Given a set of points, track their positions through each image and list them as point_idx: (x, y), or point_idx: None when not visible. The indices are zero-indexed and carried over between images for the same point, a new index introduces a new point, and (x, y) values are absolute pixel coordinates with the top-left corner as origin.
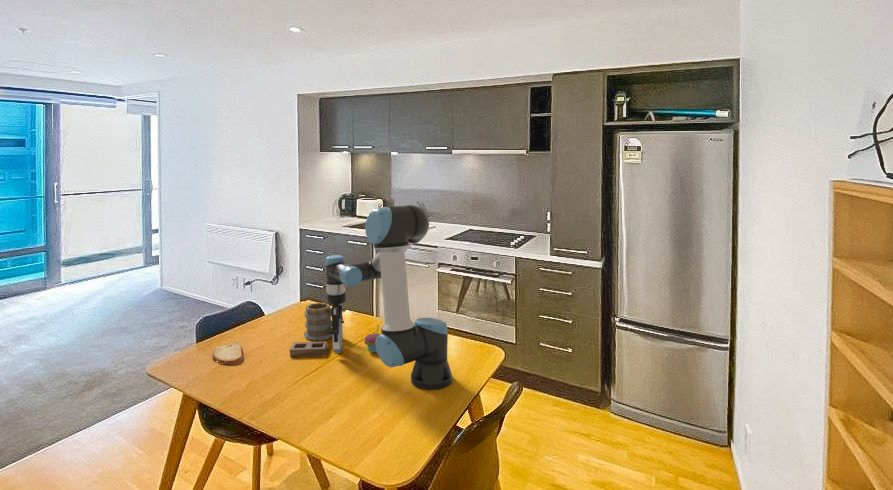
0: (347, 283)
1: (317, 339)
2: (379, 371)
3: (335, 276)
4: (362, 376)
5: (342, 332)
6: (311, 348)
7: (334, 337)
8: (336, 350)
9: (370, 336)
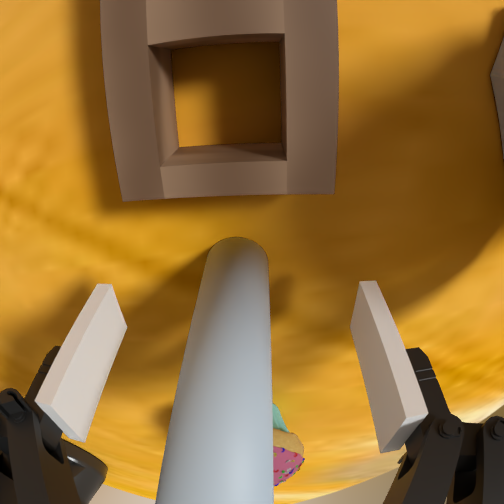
0: None
1: (496, 81)
2: None
3: None
4: (4, 358)
5: (362, 374)
6: (119, 59)
7: (34, 386)
8: (205, 265)
9: None
